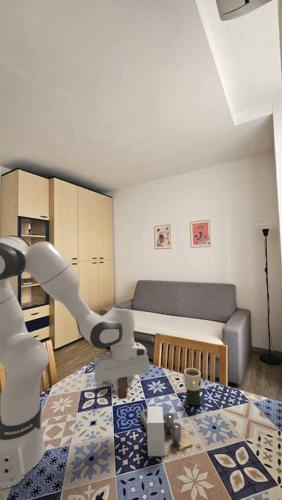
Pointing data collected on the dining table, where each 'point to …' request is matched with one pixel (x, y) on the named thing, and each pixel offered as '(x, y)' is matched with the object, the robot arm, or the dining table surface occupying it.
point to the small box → (155, 431)
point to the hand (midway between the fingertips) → (122, 388)
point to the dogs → (176, 433)
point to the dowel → (122, 388)
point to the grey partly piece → (144, 418)
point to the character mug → (192, 385)
